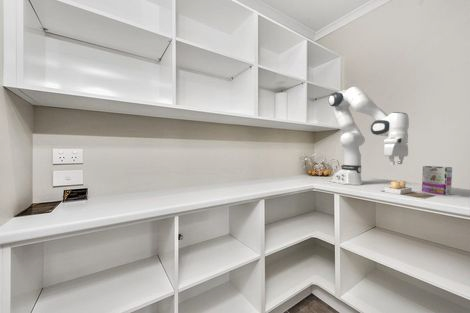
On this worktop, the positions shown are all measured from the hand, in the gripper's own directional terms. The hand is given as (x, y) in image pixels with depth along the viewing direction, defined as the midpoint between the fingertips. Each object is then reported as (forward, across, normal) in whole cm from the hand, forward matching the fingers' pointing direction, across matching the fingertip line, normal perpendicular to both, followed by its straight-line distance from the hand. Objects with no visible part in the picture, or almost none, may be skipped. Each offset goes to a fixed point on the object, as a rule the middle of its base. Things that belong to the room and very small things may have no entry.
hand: (396, 164), depth 111 cm
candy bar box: (+17, -21, +12) cm, 30 cm away
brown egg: (+16, 0, 0) cm, 16 cm away
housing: (+16, -3, 0) cm, 17 cm away
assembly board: (+17, -3, +4) cm, 18 cm away
